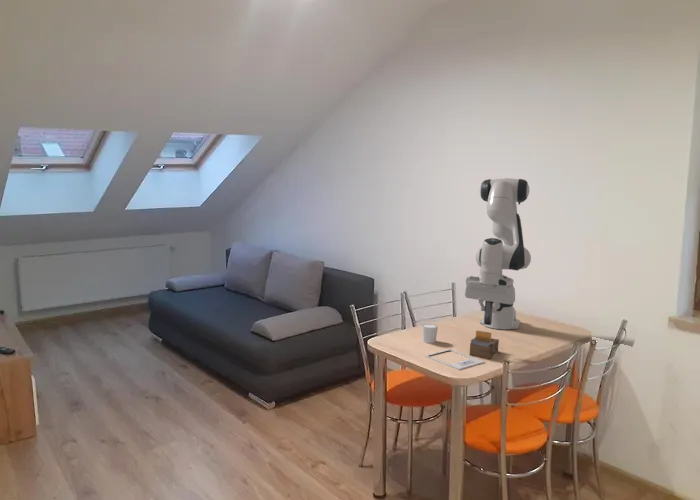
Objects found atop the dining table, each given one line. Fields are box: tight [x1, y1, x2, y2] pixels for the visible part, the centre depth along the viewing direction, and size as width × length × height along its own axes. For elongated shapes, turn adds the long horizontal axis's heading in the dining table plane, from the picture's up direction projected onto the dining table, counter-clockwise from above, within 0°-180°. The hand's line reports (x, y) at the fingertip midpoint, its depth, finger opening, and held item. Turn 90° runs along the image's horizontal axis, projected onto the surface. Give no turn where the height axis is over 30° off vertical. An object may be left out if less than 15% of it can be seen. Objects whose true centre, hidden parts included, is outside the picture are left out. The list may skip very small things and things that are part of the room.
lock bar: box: [470, 330, 492, 347], centre depth 223 cm, size 5×7×4 cm
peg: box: [484, 301, 493, 326], centre depth 227 cm, size 3×3×10 cm
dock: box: [469, 337, 500, 360], centre depth 227 cm, size 12×8×5 cm, turn 148°
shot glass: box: [421, 323, 438, 344], centre depth 241 cm, size 7×7×7 cm
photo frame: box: [424, 349, 485, 371], centre depth 219 cm, size 15×1×18 cm
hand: (488, 311), depth 227 cm, fingers closed on peg, 3 cm apart
